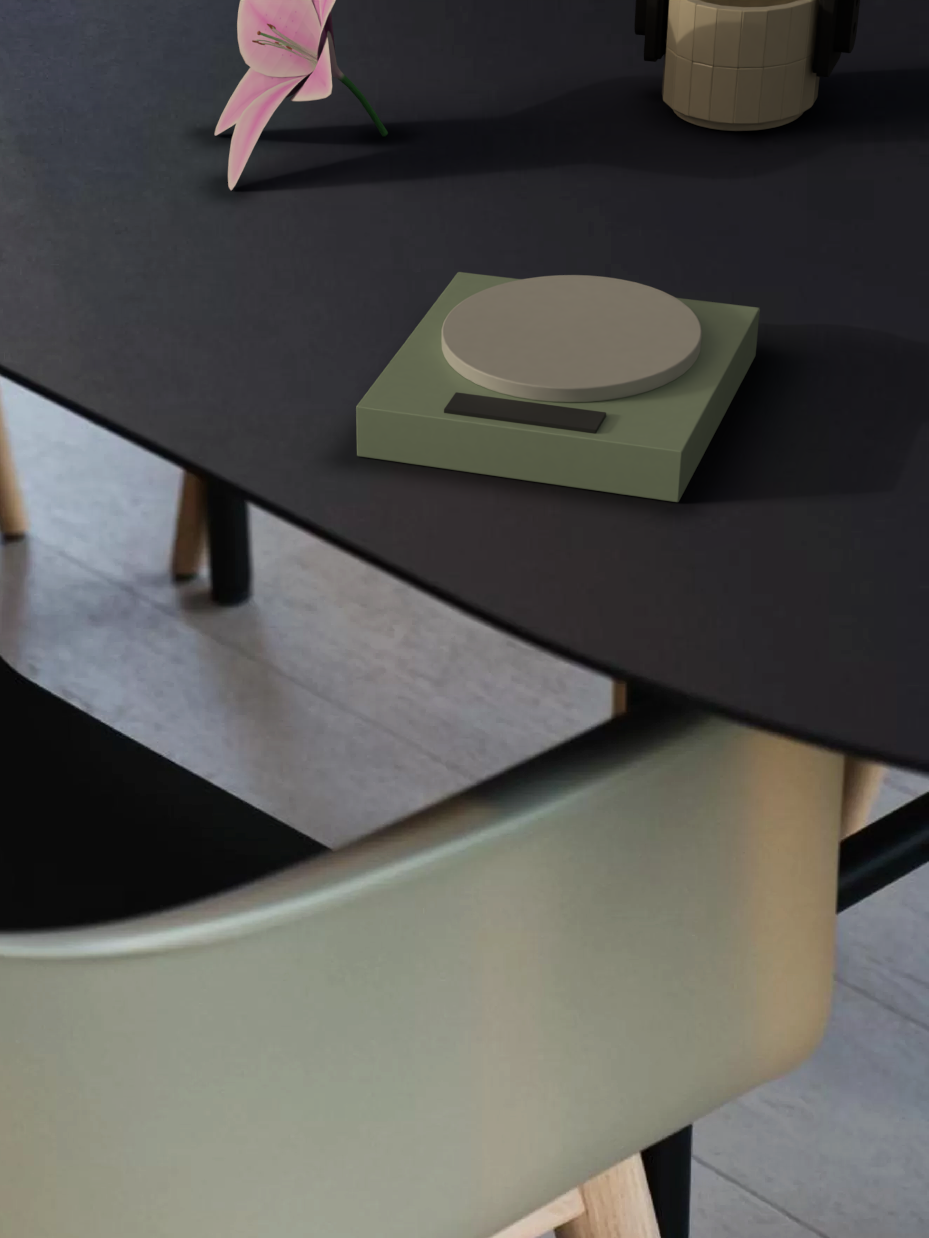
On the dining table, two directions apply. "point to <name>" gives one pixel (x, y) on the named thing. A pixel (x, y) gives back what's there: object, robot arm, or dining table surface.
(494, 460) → the scale
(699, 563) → the dining table surface
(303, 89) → the lily
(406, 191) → the dining table surface
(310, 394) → the dining table surface
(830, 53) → the robot arm
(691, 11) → the tan faceted cup
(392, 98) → the dining table surface
